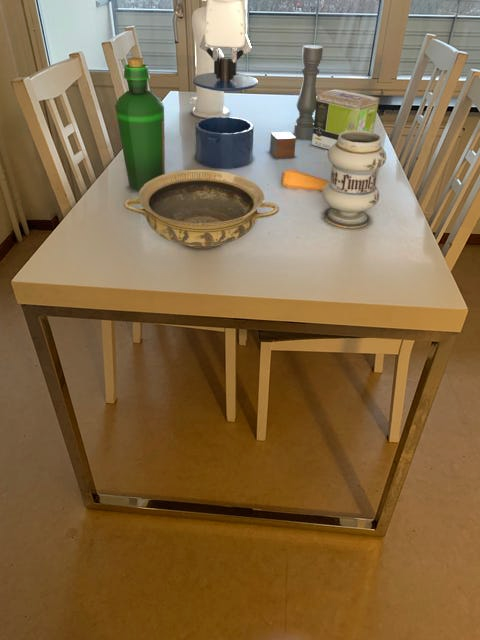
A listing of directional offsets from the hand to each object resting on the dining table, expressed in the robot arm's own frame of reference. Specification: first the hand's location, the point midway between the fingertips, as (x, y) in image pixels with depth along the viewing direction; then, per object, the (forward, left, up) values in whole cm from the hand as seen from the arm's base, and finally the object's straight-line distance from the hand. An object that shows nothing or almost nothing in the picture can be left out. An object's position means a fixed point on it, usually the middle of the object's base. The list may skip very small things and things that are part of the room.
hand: (225, 77), depth 124 cm
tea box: (+22, +29, -21) cm, 41 cm away
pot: (+1, -1, -20) cm, 20 cm away
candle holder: (+8, +31, -21) cm, 38 cm away
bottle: (-1, -29, -21) cm, 36 cm away
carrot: (+33, -3, -21) cm, 39 cm away
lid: (0, 0, -1) cm, 1 cm away
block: (+12, +12, -20) cm, 26 cm away
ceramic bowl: (+26, -41, -21) cm, 53 cm away
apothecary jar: (+45, -13, -21) cm, 51 cm away
